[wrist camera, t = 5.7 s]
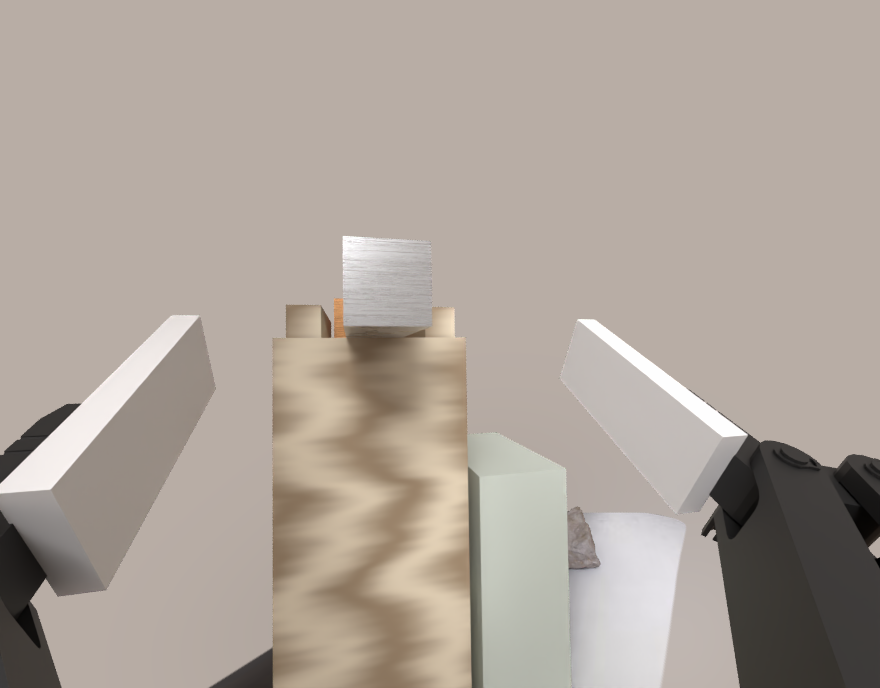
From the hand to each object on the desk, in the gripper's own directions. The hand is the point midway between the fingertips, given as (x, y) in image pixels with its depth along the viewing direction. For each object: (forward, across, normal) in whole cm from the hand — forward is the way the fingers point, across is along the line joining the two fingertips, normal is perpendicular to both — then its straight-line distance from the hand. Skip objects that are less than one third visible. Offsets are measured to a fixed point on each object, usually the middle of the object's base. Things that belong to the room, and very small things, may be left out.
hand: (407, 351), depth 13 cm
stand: (0, -1, -33) cm, 33 cm away
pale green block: (+2, +10, -35) cm, 36 cm away
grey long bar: (+11, -1, -5) cm, 13 cm away
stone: (+15, +28, -43) cm, 54 cm away
